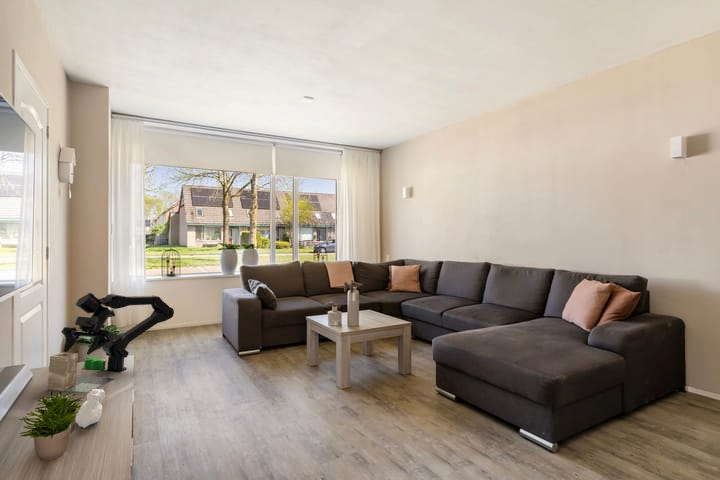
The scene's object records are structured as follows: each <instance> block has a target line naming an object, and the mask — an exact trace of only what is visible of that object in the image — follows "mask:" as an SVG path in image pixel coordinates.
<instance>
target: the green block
mask: <svg viewBox="0 0 720 480" xmlns="http://www.w3.org/2000/svg"><path fill="white" fill-rule="evenodd" d="M106 362H107V361H106V360H103V359H100V358H99V359H98V358H96V357H91V356H86V359H84V365H83V366H84V367H83V370H88V369H89V370H90V369H91V370H90V371H96V370H97V371H98V370H100V371H99V372H105V371H104V370H106Z"/></svg>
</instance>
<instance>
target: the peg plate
mask: <svg viewBox="0 0 720 480" xmlns="http://www.w3.org/2000/svg"><path fill="white" fill-rule="evenodd" d="M114 380H116V378H114V377H102V376H93V375H91V376H90V375H78V374H76V385H75V386H72V387H70V388H68V389H66V390H63V391H61V390H50V389H47V387H46V388H43V391H47V392H48V391H49V392H58V393H71V394H80V395H85V394H88V393H89V392H92V390H93V389H99V388H100V387H102V386H104V385H106V384H107V383H110V382H112V381H114Z"/></svg>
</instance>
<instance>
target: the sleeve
mask: <svg viewBox="0 0 720 480" xmlns="http://www.w3.org/2000/svg"><path fill="white" fill-rule="evenodd" d="M78 359H79V353H78V352H68V351H67V352H64V351H63V352H60V353H56V354H52V355H50V356H49V365H48V366H49V367H48V376H47V377H48V378H47V387H46V388H47V389H50V390H61V391H63V390H66V389H68V388H70V387H72V386H75V385H76V376H77V372H78V371H77V370H78V361H79V360H78Z"/></svg>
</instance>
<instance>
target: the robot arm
mask: <svg viewBox="0 0 720 480" xmlns="http://www.w3.org/2000/svg"><path fill="white" fill-rule="evenodd" d="M146 305H147V306H151V308H152V309H153V311H152V312H151V315H150V316H148V317H147V318H145V319H144V320H142V321H141V322H138V324H136V325H135V326H133V327H131V328H129V329H128V330H126V331H125V332H123V333H122V334H117V333H114V334H113V333H112V331H111V330H110V329H105V328H106V326H105V323H106V322H107V320H108V319H109V318H113V317H116V313H115V310H117V309H122V308H127V307H129V306H146ZM75 306H76V307H78V308H79V309H80V310H82V311H83V312H85V314H87V315H88V314H92V315H91V316H90V317H88V316H86V317H85V316H77V317H76V319H75V323H74V325H75V326H79V327H78V328H79V329H80V330H78V329H77V328H76V327H75V326H64V327H63V328H62V330H61V331H60V332H61V334H62V335H63V336H64V337H65V343H64V347H63V352H67V353H68V352H69V351H70V350H71V349H72V347H73V346H74V345H75V344H76V343H77V342H78V339H79V338H80V337H87V338H94V339H93V341H92V343H91V345H90V346H89V348H88V350H87V351H86V355H87V356H89V355H91V354H92V353H93V352H95V351H97V350H98V349H100V348H102V351H103V352H104V353H105V355H106V356H107V357H108V358H107V368H105V370H104V371H103V372H109V373H118V374H119V373H121V372H123V371H125V370H127V369H126V368H127V367H125V358H128V356H129V351H128V350H127V349H126V348H127V347H128V345H129V344H130V343H131V342H133V341H134V340H135V339H137V338H138V337H139V336H141V335H143V334H144V333H145V332H147V331H148V330H150V329H151V328H152V327H154V326H156V325H157V324H160V323H163V322H167V321H168V320H170V319H172V318H173V317H174V314H175V309H174V308H172V307H170V306H169V304H167V303H166V302H165V301H164V300H163V299H162V298H161V297H160V296H157V295H146V296H145V295H138V296H136V295H135V296H127V295H126V296H125V295H120V294H113V293H110V294H109V293H108V294H106V296H105V297H101V298H98V297H97V296H95V295H94V294H93V293H92V292H88V293H87V294H85V295H83V296H81V297H79V299H78V300H77V301H76V303H75ZM111 309H112V310H111ZM113 309H114V310H113ZM124 369H125V370H124ZM122 370H123V371H122ZM120 371H121V372H120Z"/></svg>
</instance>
